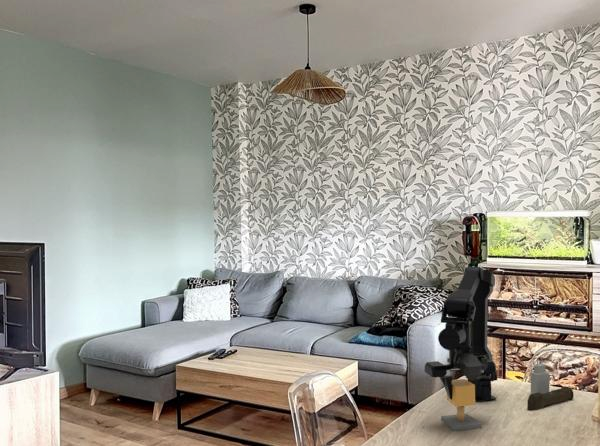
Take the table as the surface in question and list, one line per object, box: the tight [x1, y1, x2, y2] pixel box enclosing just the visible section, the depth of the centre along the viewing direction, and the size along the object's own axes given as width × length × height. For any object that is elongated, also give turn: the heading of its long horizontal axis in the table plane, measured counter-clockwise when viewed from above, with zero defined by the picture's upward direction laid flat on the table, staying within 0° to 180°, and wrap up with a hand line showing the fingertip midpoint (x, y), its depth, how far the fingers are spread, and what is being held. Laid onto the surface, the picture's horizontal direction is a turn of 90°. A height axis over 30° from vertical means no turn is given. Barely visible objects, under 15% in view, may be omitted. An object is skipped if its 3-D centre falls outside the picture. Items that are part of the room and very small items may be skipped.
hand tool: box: [526, 385, 575, 411], centre depth 168 cm, size 19×4×5 cm, turn 117°
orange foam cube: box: [446, 378, 476, 408], centre depth 154 cm, size 6×6×6 cm
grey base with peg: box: [440, 406, 482, 431], centre depth 154 cm, size 8×8×5 cm
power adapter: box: [530, 356, 550, 394], centre depth 176 cm, size 3×5×12 cm, turn 111°
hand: (460, 398), depth 154 cm, fingers closed on orange foam cube, 6 cm apart
